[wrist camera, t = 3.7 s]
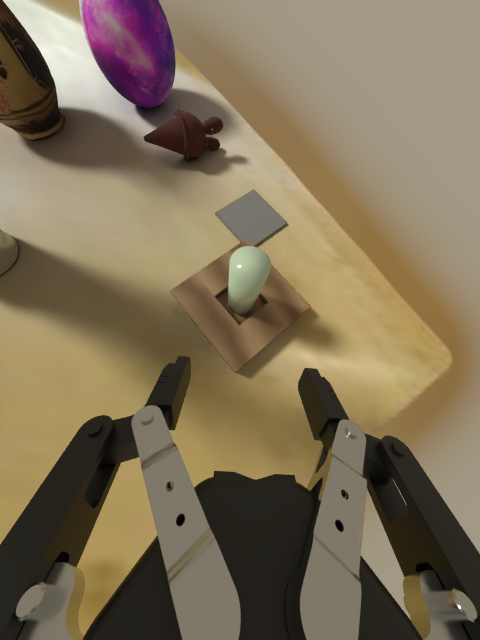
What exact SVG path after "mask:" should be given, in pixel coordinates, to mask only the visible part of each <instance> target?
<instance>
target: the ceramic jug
mask: <svg viewBox="0 0 480 640" xmlns="http://www.w3.org/2000/svg"><path fill="white" fill-rule="evenodd" d="M64 121H65V117H64V116H63V115H62V114H61V113H60V112H59V108H58V100H57V93H56V87H55V83H54V80H53V77H52V75H51V73H50V70H49V68H48V65H47V63H46V62H45V60H44V58H43V56H42V54H41V52H40V51H39V49H38V47H37V46H36V44H35V43H34V41H33V40H32V39H31V37H30V36H29V34H28V33H27V31H26V30H25V29H24V27H23V26H22V25H21V23H20V22H19V21H18V19H17V18H16V17H15V15H14V14H13V13H12V12H11V10H10V9H9V8H8V7H7V5H6V4H5V3H4V1H3V0H0V123H2V124H4V125H6V126H8V127H10V128H12V129H13V130H15V131H16V132H17V133H19V134H20V135H21V136H23V137H24V138H27V139H29V140H33V139H37V138H42V137H46V136H48V135H51V134H53V133H55V132H58V131H59V130H60V129H61V127H62V125H63V124H64ZM32 158H33V157H32Z"/></svg>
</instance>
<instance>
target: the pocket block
mask: <svg viewBox="0 0 480 640" xmlns="http://www.w3.org/2000/svg"><path fill="white" fill-rule="evenodd" d="M244 246H253V245H252V244H251V243H250V242H249V241H248V240H247V239H246V240H244V241H243V242H241V243H240V244H238V245H237V246H235V247H234V248H232V249H231V250H229V251H228V252H227V253H225V254H224V255H222V256H221V257H219V258H218V259H216V260H215V261H213V262H212V263H210V264H209V265H207V266H206V267H204V268H203V269H202V270H200V271H199V272H197V273H196V274H194V275H193V276H191V277H190V278H188V279H187V280H185V281H184V282H182V283H181V284H179V285H178V286H176V287H175V288H174V289H172V290H171V291H170V292H171V294H172V295H173V296H174V298H175V299H176V300H177V301H178V303H179V304H180V305H181V306H182V308H183V309H184V310H185V311H186V313H187V314H188V315H189V316H190V318H191V319H192V320H193V321H194V322H195V324H196V325H197V326H198V327H199V329H200V330H201V331H202V332H203V334H204V335H205V336H206V337H207V339H208V340H209V341H210V342H211V344H212V345H213V346H214V347H215V349H216V350H217V351H218V352H219V353H220V355H221V356H222V357H223V358H224V360H225V361H226V362H227V363H228V365H229V366H230V367H231V368H232V370H233V371H234V372H236V371H237V370H239V369H240V368H241V367H242V366H243V365H244V364H245V363H247V362H248V361H249V360H250V359H251V358H252V357H253V356H255V355H256V354H257V353H258V352H259V351H260V350H261V349H262V348H264V347H265V346H266V345H267V344H268V343H269V342H270V341H272V340H273V339H274V338H275V337H276V336H277V335H278V334H280V333H281V332H282V331H283V330H284V329H285V328H286V327H287V326H289V325H290V324H291V323H292V322H293V321H294V320H295V319H297V318H298V317H299V316H300V315H301V314H302V313H303V312H305V311H306V310H307V309H308V308H309V307H310V306H309V305H308V304H307V303H306V301H305V300H304V299H303V298H302V297H301V296H300V295H299V294H298V293H297V292H296V291H295V290H294V289H293V288H292V286H291V285H290V284H289V283H288V282H287V281H286V280H285V279H284V278H283V277H282V276H281V275H280V274H279V273H278V272H277V270H276V269H275V268H274V267H273V266H272V265H271V270H270V273H269V275H268V277H267V279H266V281H265V283H264V285H263V287H262V289H261V292H260V294H259V296H258V298H257V300H256V302H255V304H254V306H253V308H252V310H251V311H250V312H249V313H248V314H245V315H236V314H234V313H233V312H231V310H230V309H229V307H228V284H229V263H230V258H231V256H232V254H233V253H234V252H235V251H236V250H237V249H239V248H241V247H244Z"/></svg>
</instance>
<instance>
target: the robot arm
mask: <svg viewBox="0 0 480 640" xmlns="http://www.w3.org/2000/svg"><path fill="white" fill-rule="evenodd" d="M17 255H18V245H17V243H16V241H15V239H14V238H13V237H12V236H10V235H8V234H7V233H5V232H4V231H2V230H1V229H0V275H1V274H3V273H4V272H5V271H7V270H8V269H9V268H10V267H11V266H12V265H13V263H14V262H15V260H16V258H17ZM190 376H191V364H190V357H184V356H178V358H177V360H176V363H175V364H173V363H169V364H168V365H167V366H166V367H165V368H164V369H163V370H162V373H161V375H160V377H159V379H158V381H157V383H156V385H155V387H154V389H153V391H152V393H151V395H150V397H149V399H148V401H147V403H146V405H145V406H144V407H143V408H141V409H140V410H139V411H137V412H136V414H134V415H132V416H129V417H125V418H121V419H116V420H112V419H111V418H110V417H109V416H105V415H102V416H97V417H94V418H92V419H90V420H89V421H87V422H86V423H85V424H83V425H82V427H81V428H80V429H79V430H78V432H77V433H76V435H75V436H74V438H73V439H72V441H71V442H70V444H69V445H68V446H67V448H66V449H65V451H64V452H63V454H62V455H61V457H60V458H59V460H58V461H57V463H56V464H55V466H54V467H53V468H52V470H51V471H50V473H49V474H48V476H47V477H46V479H45V480H44V482H43V483H42V485H41V486H40V487H39V489H38V490H37V492H36V493H35V495H34V496H33V498H32V499H31V501H30V502H29V504H28V505H27V507H26V508H25V509H24V511H23V512H22V514H21V515H20V517H19V518H18V520H17V521H16V523H15V524H14V526H13V527H12V529H11V530H10V531H9V533H8V534H7V536H6V537H5V539H4V540H3V542H2V543H1V545H0V640H480V554H479V552H478V551H477V549H476V548H475V546H474V545H473V543H472V542H471V540H470V539H469V538H468V536H467V535H466V533H465V531H464V530H463V529H462V527H461V526H460V525H459V523H458V521H457V519H456V518H455V516H454V515H453V514H452V512H451V511H450V509H449V508H448V506H447V505H446V503H445V502H444V500H443V499H442V497H441V496H440V494H439V493H438V491H437V490H436V488H435V487H434V485H433V484H432V482H431V481H430V479H429V478H428V476H427V475H426V473H425V472H424V471H423V469H422V467H421V466H420V464H419V463H418V461H417V460H416V459H415V457H414V455H413V454H412V452H411V451H410V450H409V448H408V447H407V446H406V445H405V444H404V443H403V442H401V441H400V440H398V439H397V438H395V437H392V436H385V437H383V439H381V440H380V439H378V438H375V437H373V436H370V435H367V434H365V433H364V432H363V431H362V429H361V428H360V427H359V426H358V425H357V424H355V423H354V422H352V421H350V420H349V418H348V416H347V414H346V413H345V411H344V409H343V407H342V405H341V403H340V401H339V399H338V398H337V396H336V394H335V392H334V390H333V388H332V386H331V384H330V383H329V382H328V381H327V380H326V379H325V378H324V377H321V376H320V374H319V372H318V370H317V369H312V368H305V369H304V371H303V373H302V375H301V378H300V380H299V383H298V391H299V394H300V397H301V400H302V403H303V406H304V409H305V412H306V415H307V418H308V421H309V425H310V428H311V431H312V434H313V437H314V440H321V441H322V443H323V446H322V448H321V451H320V454H319V457H318V460H317V463H316V466H315V470H314V473H313V476H312V478H311V480H310V482H309V484H308V486H307V488H305V487H304V486H302V485H301V484H299V483H297V482H296V480H295V475H281V474H274V475H271V476H268V477H264V478H261V479H258V480H254V479H251V478H248V477H246V476H243V475H241V474H238V473H236V472H224V471H214V477H212V478H208V479H206V480H204V481H202V482H201V483H199V484H198V485H197V486H196V487H193V485H192V482H191V480H190V477H189V475H188V472H187V470H186V467H185V465H184V462H183V460H182V457H181V455H180V452H179V450H178V448H177V446H176V444H174V442H173V439H172V437H171V434H170V432H169V430H175V428H176V424H177V421H178V418H179V415H180V411H181V408H182V405H183V401H184V398H185V395H186V391H187V388H188V385H189V381H190ZM137 457H140V461H141V468H142V472H143V477H144V481H145V485H146V489H147V493H148V497H149V501H150V505H151V510H152V514H153V518H154V522H155V526H156V530H157V534H158V535H157V536H156V538H155V539H154V540H153V542H152V543H151V544H150V546H149V547H148V548H147V550H146V551H145V552H144V554H143V555H142V556H141V558H140V559H139V560H138V562H137V563H136V564H135V566H134V567H133V568H132V570H131V571H130V572H129V574H128V575H127V576H126V578H125V579H124V581H123V582H122V583H121V585H120V586H119V587H118V589H117V590H116V591H115V593H114V594H113V595H112V597H111V598H110V599H109V601H108V602H107V603H106V605H105V606H104V607H103V609H102V610H101V611H100V613H99V614H98V615H97V617H96V618H95V620H94V621H93V623H92V624H91V626H90V627H89V629H88V631H87V632H86V634H85V636H83V635H82V633H81V631H80V629H79V624H78V615H79V608H80V604H81V601H82V597H83V594H84V589H85V577H84V574H83V572H82V570H80V569H79V568H77V565H78V562H79V560H80V558H81V555H82V553H83V551H84V548H85V546H86V544H87V541H88V539H89V537H90V534H91V532H92V529H93V527H94V525H95V522H96V520H97V518H98V515H99V513H100V511H101V508H102V506H103V504H104V501H105V499H106V497H107V494H108V492H109V489H110V487H111V485H112V482H113V480H114V478H115V475H116V473H117V471H118V468H119V466H120V464H121V462H124V461H128V460H131V459H134V458H137ZM393 479H394V481H395V483H396V485H397V487H398V489H399V490H400V492H401V494H402V496H403V498H404V500H405V502H406V504H407V506H406V504H405V502H404V500H403V498H402V497H401V495H400V493H399V491H398V489H397V487H396V485H395V483H394V481H393ZM367 488H368V491H369V493H370V496H371V498H372V501H373V503H374V505H375V508H376V510H377V513H378V515H379V517H380V519H381V522H382V524H383V527H384V529H385V531H386V534H387V536H388V538H389V541H390V544H391V546H392V548H393V551H394V553H395V555H396V558H397V560H398V562H399V565H400V567H401V570H402V572H403V575H404V577H405V578H404V581H403V590H404V595H405V596H404V604H405V607H406V609H407V611H408V613H409V615H410V618H411V620H410V619H409V618H408V616H407V615H406V614H405V612H404V611H403V610H402V609H401V607H400V606H399V605H398V603H397V602H396V601H395V599H394V598H393V597H392V596H391V594H390V593H389V592H388V590H387V589H386V588H385V586H384V585H383V584H382V583H381V581H380V580H379V579H378V577H377V576H376V575H375V573H374V572H373V571H372V569H371V568H370V567H369V565H368V564H367V563H366V562H365V560H364V559H363V558H362V556H361V545H362V534H363V523H364V512H365V501H366V490H367Z"/></svg>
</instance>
